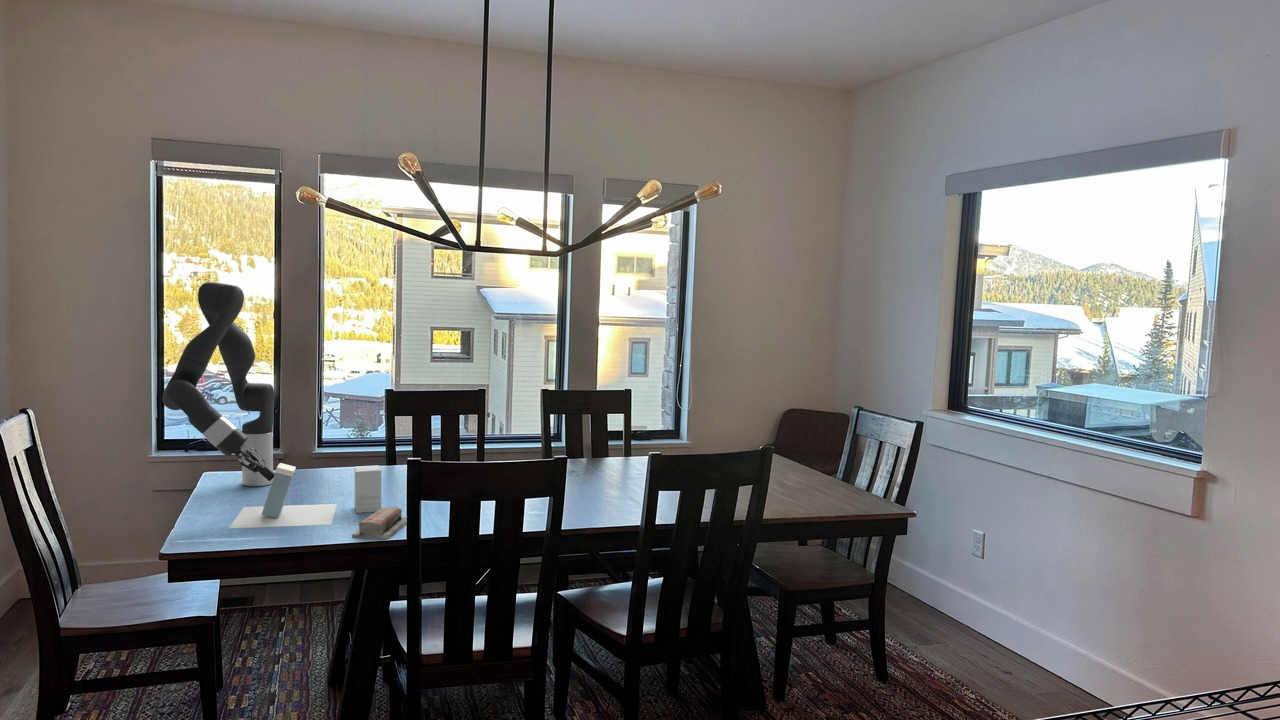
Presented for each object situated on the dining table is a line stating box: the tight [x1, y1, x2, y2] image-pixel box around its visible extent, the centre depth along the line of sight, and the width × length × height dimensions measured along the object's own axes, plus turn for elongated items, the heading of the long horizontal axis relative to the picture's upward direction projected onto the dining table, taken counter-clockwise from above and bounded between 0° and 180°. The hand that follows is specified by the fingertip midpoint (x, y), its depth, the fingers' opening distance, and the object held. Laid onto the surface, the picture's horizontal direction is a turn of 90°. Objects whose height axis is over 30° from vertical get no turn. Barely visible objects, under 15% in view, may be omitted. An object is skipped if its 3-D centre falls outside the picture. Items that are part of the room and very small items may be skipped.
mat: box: [228, 503, 338, 529], centre depth 241 cm, size 22×26×1 cm
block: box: [262, 462, 297, 518], centre depth 240 cm, size 6×4×14 cm
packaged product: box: [351, 506, 407, 540], centre depth 233 cm, size 18×5×10 cm
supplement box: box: [354, 464, 382, 514], centre depth 252 cm, size 7×7×13 cm
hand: (272, 478), depth 239 cm, fingers closed
